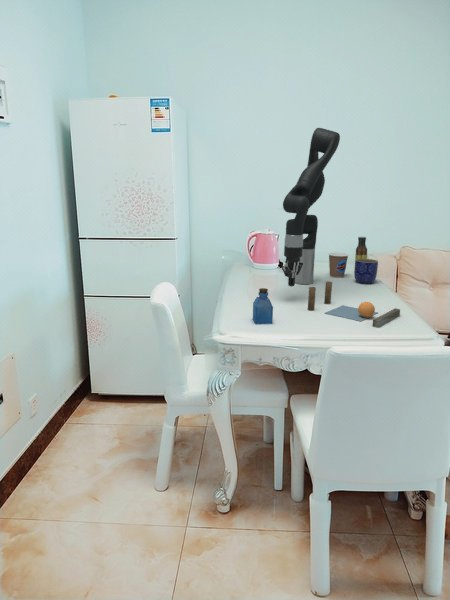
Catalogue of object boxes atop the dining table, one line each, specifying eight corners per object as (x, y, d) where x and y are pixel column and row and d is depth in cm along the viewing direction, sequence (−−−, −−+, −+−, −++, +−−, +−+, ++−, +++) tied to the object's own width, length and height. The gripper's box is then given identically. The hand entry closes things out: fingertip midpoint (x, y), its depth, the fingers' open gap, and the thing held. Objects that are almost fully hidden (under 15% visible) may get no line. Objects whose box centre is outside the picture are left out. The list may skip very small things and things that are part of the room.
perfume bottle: (252, 319, 170) (253, 287, 167) (269, 318, 171) (270, 287, 168) (255, 324, 164) (256, 291, 161) (272, 323, 165) (273, 291, 162)
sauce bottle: (366, 272, 255) (369, 236, 250) (365, 274, 250) (369, 238, 245) (354, 271, 258) (357, 236, 252) (353, 273, 252) (356, 237, 247)
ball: (362, 322, 172) (352, 309, 173) (368, 318, 176) (358, 306, 178) (374, 313, 168) (364, 300, 170) (380, 310, 173) (370, 297, 174)
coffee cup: (335, 279, 238) (337, 256, 235) (322, 275, 247) (324, 253, 243) (351, 277, 242) (352, 254, 239) (337, 273, 251) (339, 252, 248)
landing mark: (324, 313, 178) (324, 312, 178) (342, 305, 189) (342, 305, 189) (360, 321, 168) (360, 321, 168) (378, 313, 179) (378, 312, 179)
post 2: (323, 303, 192) (324, 282, 190) (326, 302, 194) (327, 281, 192) (328, 304, 191) (330, 283, 188) (331, 303, 192) (333, 282, 190)
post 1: (306, 309, 183) (307, 287, 180) (309, 308, 185) (311, 286, 182) (312, 310, 181) (313, 288, 179) (315, 309, 183) (317, 287, 181)
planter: (379, 282, 232) (382, 260, 229) (369, 286, 224) (372, 263, 221) (359, 279, 239) (361, 257, 236) (349, 282, 231) (351, 260, 228)
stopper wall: (372, 326, 163) (373, 319, 163) (394, 314, 178) (395, 308, 177) (377, 327, 162) (378, 320, 161) (399, 315, 177) (400, 309, 176)
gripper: (295, 242, 197) (292, 281, 202) (276, 245, 188) (274, 287, 192) (310, 244, 192) (307, 284, 197) (292, 248, 183) (289, 290, 188)
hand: (291, 285), depth 195 cm, fingers closed
